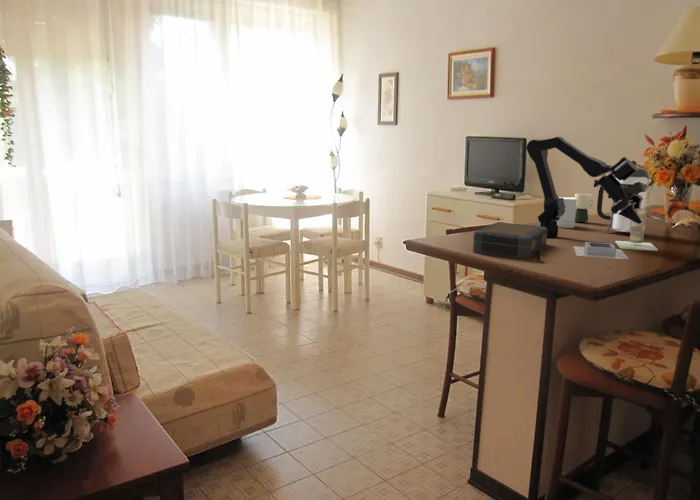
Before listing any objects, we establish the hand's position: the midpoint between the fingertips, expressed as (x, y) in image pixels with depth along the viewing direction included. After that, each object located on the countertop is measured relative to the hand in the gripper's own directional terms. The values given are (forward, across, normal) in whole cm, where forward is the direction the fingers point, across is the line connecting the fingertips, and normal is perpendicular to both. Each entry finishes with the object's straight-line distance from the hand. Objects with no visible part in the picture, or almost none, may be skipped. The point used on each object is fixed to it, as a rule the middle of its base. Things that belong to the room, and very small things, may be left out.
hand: (642, 222), depth 208 cm
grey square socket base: (+2, -20, +12) cm, 24 cm away
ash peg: (+4, 0, +6) cm, 8 cm away
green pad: (+6, 0, +8) cm, 10 cm away
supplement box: (-20, +29, +35) cm, 49 cm away
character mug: (-20, +46, +34) cm, 60 cm away
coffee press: (-4, +30, +18) cm, 35 cm away
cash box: (-16, -34, +32) cm, 49 cm away
